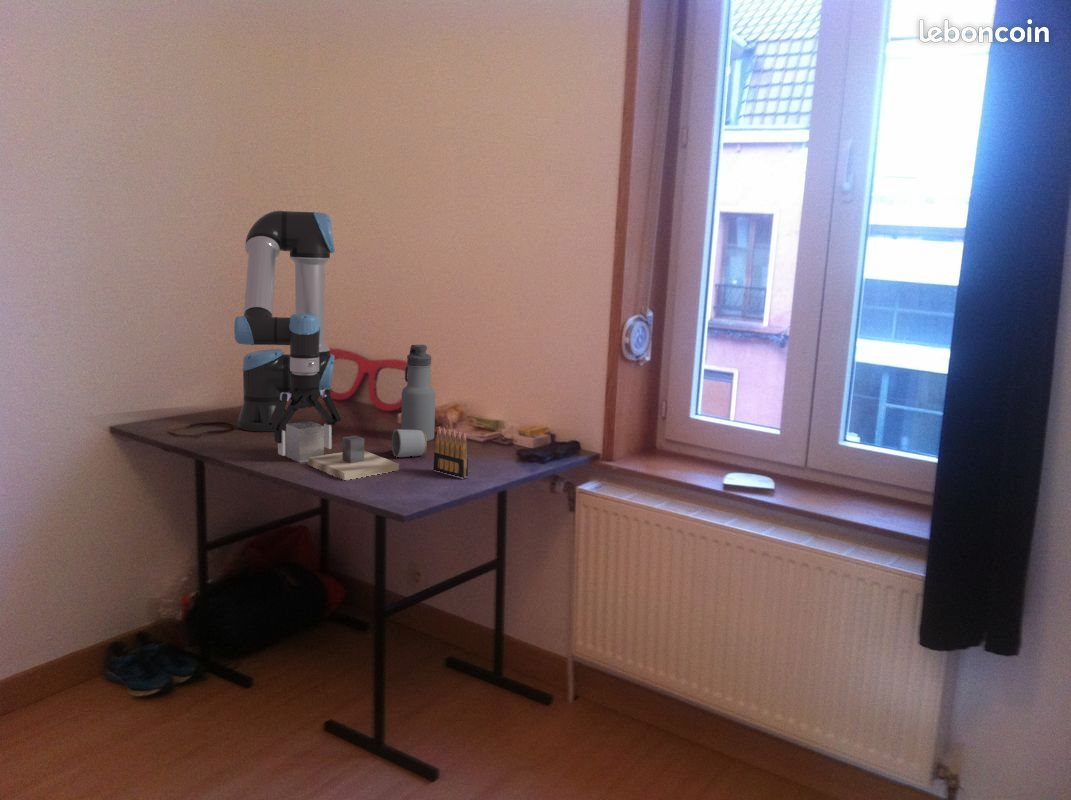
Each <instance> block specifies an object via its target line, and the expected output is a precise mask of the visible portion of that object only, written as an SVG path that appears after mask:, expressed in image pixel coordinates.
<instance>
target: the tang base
mask: <svg viewBox="0 0 1071 800" xmlns="http://www.w3.org/2000/svg"><path fill="white" fill-rule="evenodd" d="M341 448H342V452H336V453H335V452H334V453H330V454H329V453H328V454H324V455H321V456H315V457H308V461H307V465H308V466H310V467H312V468H314V469H316V470H318V469H319V470H318V471H321V472H323V473H325V472H326V474H327V475H330V476H332V475H333V477H334V478H337V477H338V479H339V478H340V479H339V480H341V479H342V481H344V480H346V481H350V479H352V480H357V479H356V478H358V479H362V478H361V477H363V478H366V476H369V477H372V476H371V475H375V476H378V475H377V474H380V475H383V474H382V473H386V474H389V473H388V472H392V471H397V470H399V471H400V463H399V462H396V461H392V459H391V460H390V459H388V458H385V457H383V456H379V455H377V454H374V453H373V452H369V451H366V450H365V438H364V437H361V436H359V435H351V436H350V435H349V436H343V437H342V447H341ZM397 472H398V471H397ZM392 473H393V472H392Z"/></svg>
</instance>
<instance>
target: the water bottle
mask: <svg viewBox="0 0 1071 800" xmlns="http://www.w3.org/2000/svg"><path fill="white" fill-rule="evenodd" d="M427 350H428V347H427V345H425V344H411V345H410V348H409V354H407V356H406V357H407V363H406V366H405V368H404V380H405V382H406V383H407V384H406V386H405V387H403V389H402V390H401V419H400V420H401V421H400V423H401V425H400V429H401V430H421V431H423V432H424V433H425V435H426V439H427V442H430V441H432V440H434V438H435V424H436V423H435V421H436V420H435V419H436V417H435V416H436V391H435V389H434V388H433V387H432V386H431V367H432V355H431V354H428V353H427V352H426V351H427Z"/></svg>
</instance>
